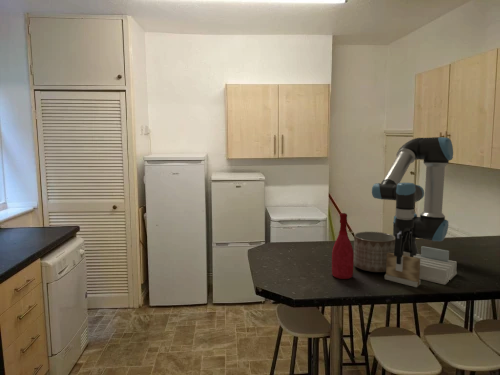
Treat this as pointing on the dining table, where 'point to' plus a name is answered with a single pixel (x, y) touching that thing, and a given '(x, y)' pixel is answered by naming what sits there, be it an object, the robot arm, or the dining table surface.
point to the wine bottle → (342, 253)
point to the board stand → (402, 280)
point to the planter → (372, 250)
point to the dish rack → (436, 265)
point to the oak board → (404, 267)
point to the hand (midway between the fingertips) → (402, 268)
